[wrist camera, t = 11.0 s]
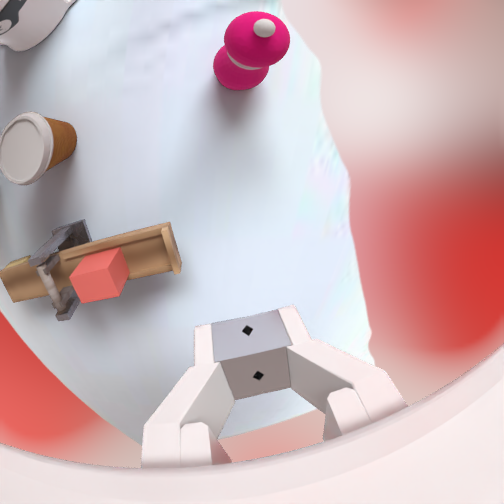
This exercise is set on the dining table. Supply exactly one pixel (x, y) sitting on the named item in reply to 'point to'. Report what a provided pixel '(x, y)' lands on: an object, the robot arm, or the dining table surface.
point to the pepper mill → (250, 50)
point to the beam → (65, 262)
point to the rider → (100, 275)
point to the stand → (63, 240)
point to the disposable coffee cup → (34, 146)
